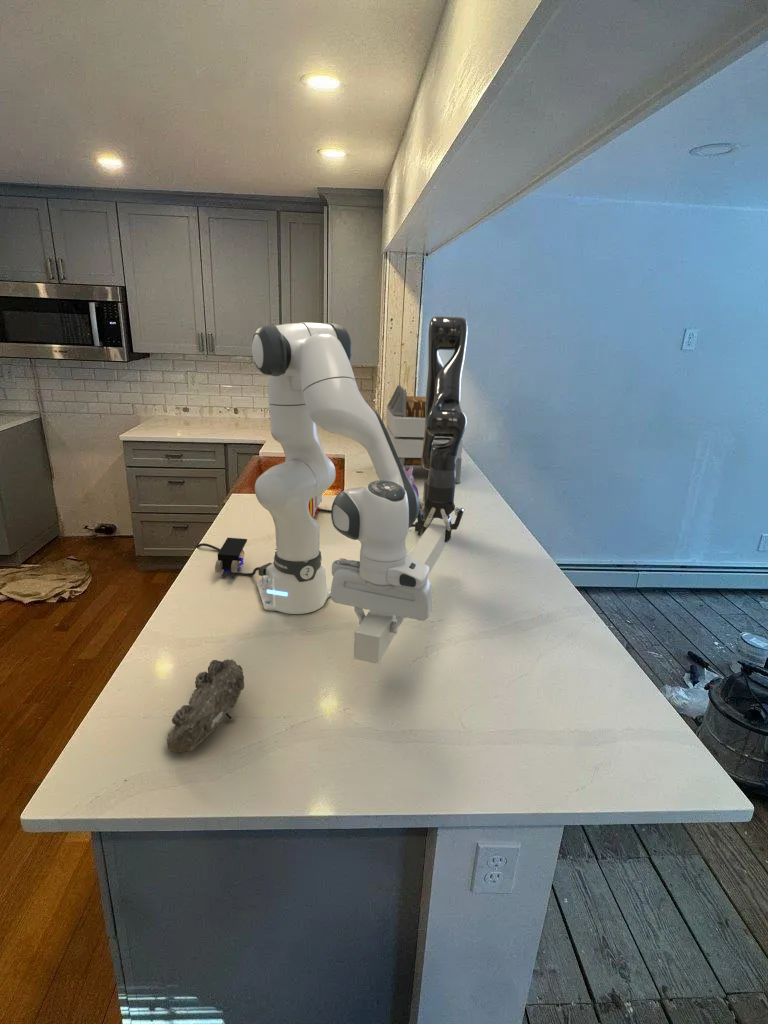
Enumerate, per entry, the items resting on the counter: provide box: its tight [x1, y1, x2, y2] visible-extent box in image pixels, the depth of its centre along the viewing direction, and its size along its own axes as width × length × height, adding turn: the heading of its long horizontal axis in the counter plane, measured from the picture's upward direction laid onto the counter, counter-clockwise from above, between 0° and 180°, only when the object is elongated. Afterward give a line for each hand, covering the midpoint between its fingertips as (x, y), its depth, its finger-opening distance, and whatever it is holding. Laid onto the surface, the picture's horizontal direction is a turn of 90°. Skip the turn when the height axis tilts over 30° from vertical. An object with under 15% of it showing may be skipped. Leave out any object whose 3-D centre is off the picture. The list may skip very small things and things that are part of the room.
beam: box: [353, 518, 453, 665], centre depth 137 cm, size 68×5×6 cm, turn 162°
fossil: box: [166, 658, 245, 754], centre depth 106 cm, size 22×10×15 cm
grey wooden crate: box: [385, 384, 464, 484], centre depth 268 cm, size 34×33×41 cm
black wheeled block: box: [214, 537, 248, 578], centre depth 166 cm, size 7×8×15 cm
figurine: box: [402, 466, 420, 497], centre depth 230 cm, size 9×10×15 cm
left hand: (379, 628), depth 113 cm, fingers closed on beam, 5 cm apart
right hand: (436, 539), depth 161 cm, fingers closed on beam, 5 cm apart
